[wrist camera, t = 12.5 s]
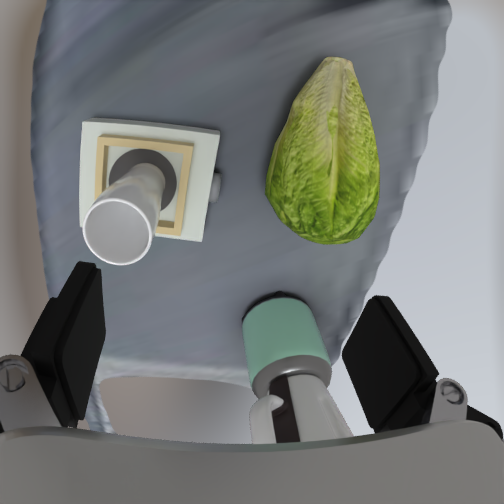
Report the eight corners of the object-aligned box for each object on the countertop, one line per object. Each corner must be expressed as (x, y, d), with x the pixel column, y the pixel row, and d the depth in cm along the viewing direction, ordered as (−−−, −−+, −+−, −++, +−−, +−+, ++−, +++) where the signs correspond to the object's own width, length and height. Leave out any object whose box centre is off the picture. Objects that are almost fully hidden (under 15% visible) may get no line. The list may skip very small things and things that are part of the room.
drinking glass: (125, 207, 41) (90, 268, 28) (118, 159, 38) (74, 201, 25) (174, 203, 42) (158, 264, 29) (169, 153, 38) (147, 194, 25)
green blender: (329, 319, 61) (396, 483, 31) (277, 356, 65) (314, 517, 35) (266, 262, 53) (324, 472, 23) (208, 309, 56) (218, 508, 26)
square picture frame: (93, 117, 38) (76, 123, 33) (228, 132, 42) (230, 139, 37) (88, 215, 45) (75, 232, 40) (210, 230, 49) (210, 249, 44)
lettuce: (381, 78, 41) (416, 62, 28) (355, 231, 49) (380, 265, 37) (282, 59, 41) (284, 31, 28) (261, 216, 50) (255, 247, 37)
